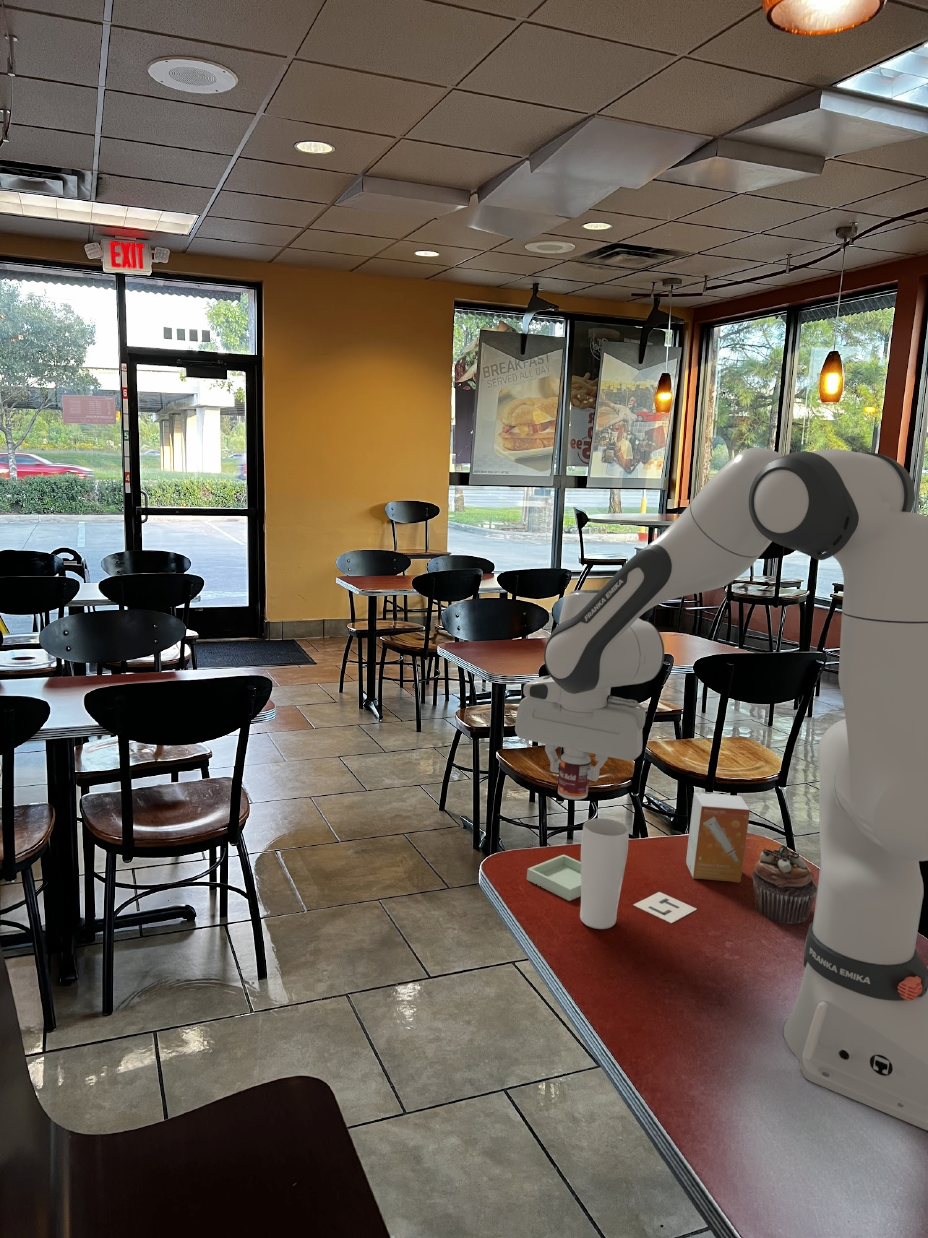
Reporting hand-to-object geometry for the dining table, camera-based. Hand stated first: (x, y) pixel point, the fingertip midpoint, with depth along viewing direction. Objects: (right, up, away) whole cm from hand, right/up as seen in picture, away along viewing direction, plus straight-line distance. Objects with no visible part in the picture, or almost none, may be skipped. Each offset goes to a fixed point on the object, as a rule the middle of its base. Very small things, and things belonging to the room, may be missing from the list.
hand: (574, 775), depth 145 cm
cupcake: (+32, -21, -2) cm, 38 cm away
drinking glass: (+2, -21, -9) cm, 22 cm away
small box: (+25, -18, +10) cm, 32 cm away
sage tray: (-1, -18, +3) cm, 18 cm away
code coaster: (+14, -20, -3) cm, 24 cm away
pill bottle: (0, -3, +1) cm, 3 cm away
